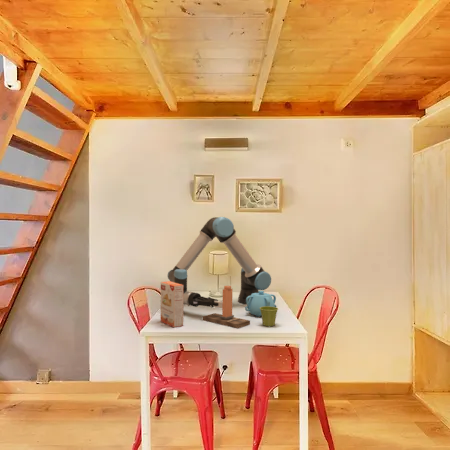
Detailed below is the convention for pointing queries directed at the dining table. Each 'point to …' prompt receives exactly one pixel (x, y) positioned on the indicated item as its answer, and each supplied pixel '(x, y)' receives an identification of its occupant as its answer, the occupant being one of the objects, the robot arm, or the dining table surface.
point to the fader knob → (227, 303)
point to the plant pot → (268, 315)
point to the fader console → (229, 322)
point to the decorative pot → (259, 302)
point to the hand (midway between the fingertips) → (224, 305)
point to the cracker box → (172, 303)
